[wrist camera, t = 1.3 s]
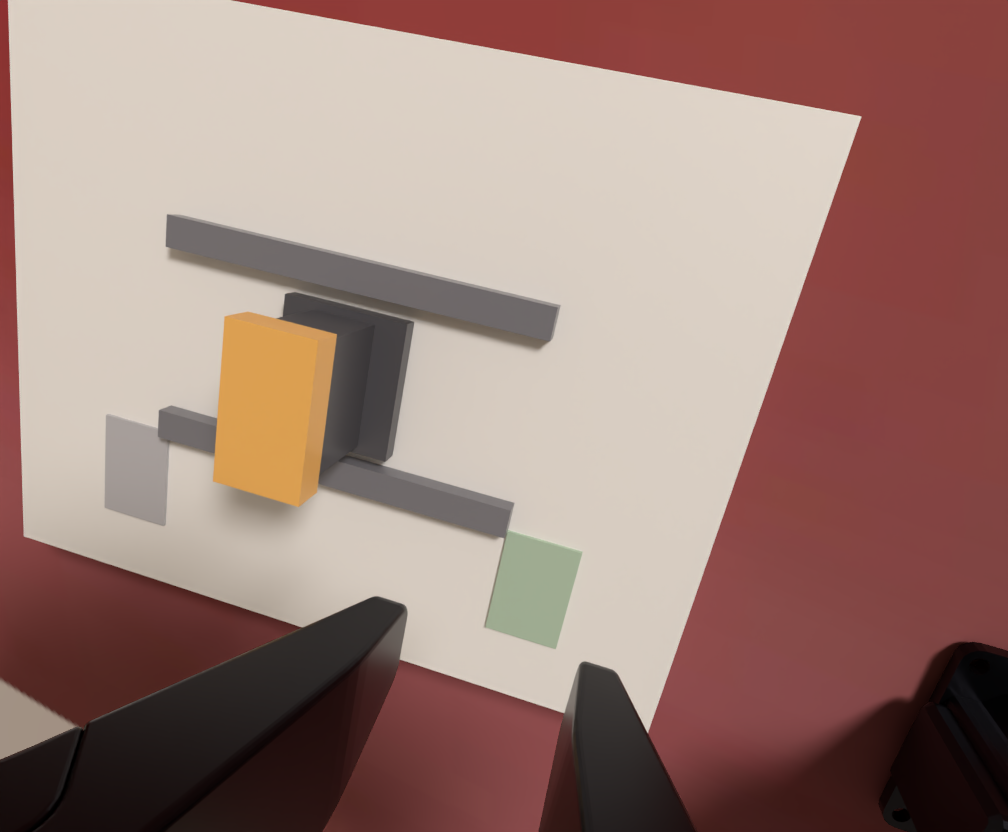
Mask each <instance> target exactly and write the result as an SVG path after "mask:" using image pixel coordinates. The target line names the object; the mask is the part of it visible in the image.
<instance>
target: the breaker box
mask: <svg viewBox="0 0 1008 832" xmlns="http://www.w3.org/2000/svg"><path fill="white" fill-rule="evenodd" d="M8 13H9V47H10V81H11V115H12V149H13V183H14V217H15V251H16V285H17V319H18V353H19V387H20V421H21V455H22V489H23V523H24V536H25V537H28V538H31V539H34V540H37V541H40V542H43V543H46V544H49V545H52V546H55V547H58V548H61V549H64V550H67V551H70V552H73V553H76V554H80V555H83V556H86V557H89V558H92V559H95V560H98V561H101V562H104V563H107V564H110V565H113V566H116V567H119V568H122V569H125V570H128V571H131V572H134V573H138V574H141V575H144V576H147V577H150V578H153V579H156V580H159V581H162V582H165V583H168V584H171V585H174V586H177V587H180V588H183V589H186V590H189V591H192V592H196V593H199V594H202V595H205V596H208V597H211V598H214V599H217V600H220V601H223V602H226V603H229V604H232V605H235V606H238V607H241V608H244V609H247V610H251V611H254V612H257V613H260V614H263V615H266V616H269V617H272V618H275V619H278V620H281V621H284V622H287V623H290V624H293V625H296V626H299V627H305V626H307V625H309V624H311V623H314V622H316V621H318V620H321V619H323V618H325V617H327V616H330V615H332V614H334V613H336V612H339V611H341V610H343V609H345V608H348V607H350V606H352V605H355V604H357V603H359V602H361V601H364V600H366V599H368V598H370V597H374V596H379V597H383V598H386V599H389V600H392V601H395V602H399V603H402V604H404V605H405V606H406V608H407V611H408V616H407V622H406V627H405V633H404V638H403V643H402V649H401V654H400V660H403V661H406V662H409V663H412V664H415V665H418V666H422V667H425V668H428V669H431V670H434V671H437V672H440V673H443V674H446V675H449V676H452V677H455V678H458V679H461V680H464V681H467V682H470V683H473V684H476V685H480V686H483V687H486V688H489V689H492V690H495V691H498V692H501V693H504V694H507V695H510V696H513V697H516V698H519V699H522V700H525V701H528V702H531V703H534V704H538V705H541V706H544V707H547V708H550V709H553V710H556V711H559V712H562V713H565V709H566V706H567V703H568V699H569V696H570V692H571V689H572V685H573V682H574V678H575V675H576V672H577V669H578V666H579V664H580V663H581V662H583V661H587V662H590V663H593V664H597V665H600V666H603V667H606V668H609V669H612V670H614V671H615V672H616V673H617V674H618V675H619V677H620V679H621V681H622V683H623V685H624V687H625V689H626V691H627V693H628V695H629V697H630V699H631V701H632V703H633V705H634V707H635V709H636V711H637V713H638V715H639V717H640V719H641V721H642V723H643V725H644V727H645V729H646V731H647V733H648V731H649V728H650V725H651V722H652V719H653V717H654V714H655V711H656V708H657V705H658V702H659V699H660V696H661V693H662V691H663V688H664V685H665V682H666V679H667V676H668V673H669V670H670V668H671V665H672V662H673V659H674V656H675V653H676V650H677V647H678V644H679V642H680V639H681V636H682V633H683V630H684V627H685V624H686V621H687V618H688V616H689V613H690V610H691V607H692V604H693V601H694V598H695V595H696V593H697V590H698V587H699V584H700V581H701V578H702V575H703V572H704V569H705V567H706V564H707V561H708V558H709V555H710V552H711V549H712V546H713V543H714V541H715V538H716V535H717V532H718V529H719V526H720V523H721V520H722V517H723V515H724V512H725V509H726V506H727V503H728V500H729V497H730V494H731V492H732V489H733V486H734V483H735V480H736V477H737V474H738V471H739V468H740V466H741V463H742V460H743V457H744V454H745V451H746V448H747V445H748V442H749V440H750V437H751V434H752V431H753V428H754V425H755V422H756V419H757V416H758V414H759V411H760V408H761V405H762V402H763V399H764V396H765V393H766V391H767V388H768V385H769V382H770V379H771V376H772V373H773V370H774V367H775V365H776V362H777V359H778V356H779V353H780V350H781V347H782V344H783V341H784V339H785V336H786V333H787V330H788V327H789V324H790V321H791V318H792V315H793V313H794V310H795V307H796V304H797V301H798V298H799V295H800V292H801V290H802V287H803V284H804V281H805V278H806V275H807V272H808V269H809V266H810V264H811V261H812V258H813V255H814V252H815V249H816V246H817V243H818V240H819V238H820V235H821V232H822V229H823V226H824V223H825V220H826V217H827V214H828V212H829V209H830V206H831V203H832V200H833V197H834V194H835V191H836V189H837V186H838V183H839V180H840V177H841V174H842V171H843V168H844V165H845V163H846V160H847V157H848V154H849V151H850V148H851V145H852V142H853V139H854V137H855V134H856V131H857V128H858V125H859V122H860V119H861V116H856V115H850V114H845V113H840V112H834V111H829V110H823V109H818V108H812V107H807V106H802V105H796V104H791V103H785V102H780V101H774V100H769V99H763V98H758V97H753V96H747V95H742V94H736V93H731V92H725V91H720V90H715V89H709V88H704V87H698V86H693V85H687V84H682V83H677V82H671V81H666V80H660V79H655V78H649V77H644V76H639V75H633V74H628V73H622V72H617V71H611V70H606V69H601V68H595V67H590V66H584V65H579V64H573V63H568V62H563V61H557V60H552V59H546V58H541V57H535V56H530V55H525V54H519V53H514V52H508V51H503V50H497V49H492V48H487V47H481V46H476V45H470V44H465V43H459V42H454V41H449V40H443V39H438V38H432V37H427V36H421V35H416V34H411V33H405V32H400V31H394V30H389V29H383V28H378V27H373V26H367V25H362V24H356V23H351V22H345V21H340V20H334V19H329V18H324V17H318V16H313V15H307V14H302V13H296V12H291V11H286V10H280V9H275V8H269V7H264V6H258V5H253V4H248V3H242V2H237V1H231V0H8ZM292 292H298V293H302V294H306V295H310V296H314V297H318V298H322V299H326V300H330V301H334V302H338V303H342V304H346V305H350V306H354V307H358V308H362V309H366V310H370V311H374V312H378V313H382V314H386V315H390V316H394V317H398V318H402V319H406V320H410V321H414V328H413V334H412V340H411V346H410V352H409V358H408V365H407V371H406V377H405V383H404V389H403V395H402V401H401V407H400V413H399V420H398V426H397V432H396V438H395V444H394V450H393V456H391V457H390V458H389V459H388V460H387V461H386V462H384V461H381V460H377V459H374V458H370V457H367V456H363V455H359V454H356V453H352V452H349V453H348V454H347V455H345V456H344V457H343V458H341V459H340V460H339V461H337V462H336V463H334V464H333V465H332V466H330V467H329V468H328V469H326V470H325V471H324V472H322V473H321V474H320V475H319V480H318V488H317V493H316V494H315V495H313V496H312V497H311V498H309V499H308V500H307V501H306V502H304V503H303V504H302V505H301V506H299V507H297V506H293V505H290V504H287V503H283V502H280V501H277V500H273V499H270V498H267V497H263V496H260V495H257V494H253V493H250V492H247V491H243V490H240V489H237V488H233V487H230V486H227V485H223V484H220V483H217V482H213V472H214V458H215V443H216V429H217V415H218V401H219V387H220V373H221V359H222V345H223V331H224V317H225V316H228V315H233V314H238V313H243V312H252V313H256V314H260V315H264V316H268V317H272V318H280V317H283V308H284V298H285V294H286V293H292Z"/></svg>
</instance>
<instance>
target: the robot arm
mask: <svg viewBox="0 0 1008 832" xmlns="http://www.w3.org/2000/svg"><path fill="white" fill-rule="evenodd" d="M407 616H408V611H407V608H406V606H405V605H404V604H402V603H399V602H395V601H392V600H389V599H386V598H383V597H379V596H374V597H370V598H368V599H366V600H364V601H361V602H359V603H357V604H355V605H352V606H350V607H348V608H345V609H343V610H341V611H339V612H336V613H334V614H332V615H330V616H327V617H325V618H323V619H321V620H318V621H316V622H314V623H311V624H309V625H307V626H305V627H302V628H300V629H298V630H296V631H293V632H291V633H289V634H287V635H284V636H282V637H280V638H277V639H275V640H273V641H271V642H268V643H266V644H264V645H262V646H259V647H257V648H255V649H252V650H250V651H248V652H246V653H243V654H241V655H239V656H237V657H234V658H232V659H230V660H228V661H225V662H223V663H221V664H218V665H216V666H214V667H212V668H209V669H207V670H205V671H203V672H200V673H198V674H196V675H194V676H191V677H189V678H187V679H184V680H182V681H180V682H178V683H175V684H173V685H171V686H169V687H166V688H164V689H162V690H159V691H157V692H155V693H153V694H150V695H148V696H146V697H144V698H141V699H139V700H137V701H135V702H132V703H130V704H128V705H125V706H123V707H121V708H119V709H116V710H114V711H112V712H110V713H107V714H105V715H103V716H101V717H98V718H96V719H94V720H91V721H89V722H88V723H87V724H86V725H85V727H84V730H83V729H82V728H81V727H75V728H73V729H70V730H68V731H66V732H63V733H61V734H59V735H57V736H54V737H52V738H50V739H48V740H45V741H43V742H41V743H39V744H37V745H34V746H32V747H29V748H27V749H25V750H22V751H20V752H17V753H15V754H13V755H10V756H8V757H5V758H3V759H1V760H0V832H322V831H323V830H324V828H325V826H326V824H327V822H328V821H329V819H330V817H331V815H332V813H333V812H334V810H335V808H336V806H337V804H338V802H339V800H340V798H341V796H342V794H343V792H344V789H345V787H346V785H347V783H348V781H349V779H350V777H351V774H352V772H353V770H354V768H355V765H356V763H357V761H358V759H359V757H360V754H361V752H362V750H363V748H364V745H365V743H366V741H367V739H368V736H369V734H370V732H371V730H372V728H373V725H374V723H375V721H376V719H377V716H378V714H379V712H380V710H381V707H382V705H383V703H384V701H385V699H386V696H387V694H388V692H389V690H390V687H391V685H392V683H393V680H394V678H395V675H396V672H397V668H398V664H399V660H400V654H401V649H402V643H403V638H404V633H405V627H406V622H407ZM975 659H983V661H982V662H981V663H980V664H978V665H975V666H972V665H969V664H970V663H971V662H972V661H973V660H975ZM891 774H892V775H891V777H890V779H889V781H888V783H887V785H886V787H885V789H884V791H883V793H882V795H881V797H880V799H879V807H880V810H881V812H882V815H883V817H884V820H885V821H886V822H887V823H888V824H889V825H891V826H893V827H895V828H898V829H901V830H904V831H907V832H1008V651H1007V650H1003V649H1000V648H996V647H993V646H989V645H986V644H982V643H976V642H970V643H965V644H963V645H961V646H959V647H958V648H957V649H956V650H955V652H954V653H953V655H952V657H951V659H950V661H949V663H948V665H947V667H946V669H945V671H944V673H943V675H942V677H941V679H940V681H939V683H938V685H937V687H936V689H935V691H934V693H933V695H932V697H931V698H930V700H929V702H928V703H927V704H926V705H924V706H923V707H922V708H921V710H920V712H919V714H918V716H917V718H916V720H915V722H914V724H913V726H912V728H911V730H910V732H909V734H908V736H907V737H906V739H905V741H904V743H903V745H902V747H901V749H900V751H899V753H898V755H897V757H896V759H895V761H894V763H893V765H892V767H891ZM898 808H903V810H900V811H894V810H895V809H898ZM539 832H697V830H696V828H695V826H694V824H693V822H692V820H691V818H690V816H689V814H688V812H687V810H686V808H685V806H684V804H683V802H682V800H681V798H680V796H679V794H678V792H677V790H676V788H675V786H674V784H673V782H672V780H671V778H670V776H669V774H668V772H667V770H666V768H665V766H664V764H663V763H662V761H661V759H660V757H659V755H658V753H657V751H656V749H655V747H654V745H653V743H652V741H651V739H650V737H649V735H648V733H647V731H646V729H645V727H644V725H643V723H642V721H641V719H640V717H639V715H638V713H637V711H636V709H635V707H634V705H633V703H632V701H631V699H630V697H629V695H628V693H627V691H626V689H625V687H624V685H623V683H622V681H621V679H620V677H619V675H618V674H617V673H616V672H615V671H614V670H612V669H609V668H606V667H603V666H600V665H597V664H593V663H590V662H587V661H583V662H581V663H580V664H579V666H578V669H577V672H576V675H575V678H574V682H573V685H572V689H571V692H570V696H569V699H568V703H567V706H566V709H565V713H564V716H563V720H562V724H561V728H560V732H559V736H558V741H557V746H556V750H555V755H554V760H553V765H552V770H551V774H550V779H549V784H548V789H547V793H546V798H545V803H544V808H543V813H542V817H541V822H540V827H539Z"/></svg>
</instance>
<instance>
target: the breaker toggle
mask: <svg viewBox="0 0 1008 832" xmlns="http://www.w3.org/2000/svg"><path fill="white" fill-rule="evenodd" d="M413 328H414V321H410V320H406V319H402V318H398V317H394V316H390V315H386V314H382V313H378V312H374V311H370V310H366V309H362V308H358V307H354V306H350V305H346V304H342V303H338V302H334V301H330V300H326V299H322V298H318V297H314V296H310V295H306V294H302V293H298V292H292V293H286V294H285V298H284V308H283V317H280V318H272V317H268V316H264V315H260V314H256V313H252V312H243V313H238V314H233V315H228V316H225V317H224V331H223V345H222V359H221V373H220V387H219V401H218V415H217V429H216V443H215V458H214V472H213V482H217V483H220V484H223V485H227V486H230V487H233V488H237V489H240V490H243V491H247V492H250V493H253V494H257V495H260V496H263V497H267V498H270V499H273V500H277V501H280V502H283V503H287V504H290V505H293V506H297V507H299V506H301V505H302V504H303V503H304V502H306V501H307V500H308V499H309V498H311V497H312V496H313V495H315V494H316V493H317V488H318V480H319V475H320V474H321V473H322V472H324V471H325V470H326V469H328V468H329V467H330V466H332V465H333V464H334V463H336V462H337V461H339V460H340V459H341V458H343V457H344V456H345V455H347V454H348V453H349V452H352V453H356V454H359V455H363V456H367V457H370V458H374V459H377V460H381V461H384V462H386V461H387V460H388V459H389V458H390V457H391V456H393V450H394V444H395V438H396V432H397V426H398V420H399V413H400V407H401V401H402V395H403V389H404V383H405V377H406V371H407V365H408V358H409V352H410V346H411V340H412V334H413Z"/></svg>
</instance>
